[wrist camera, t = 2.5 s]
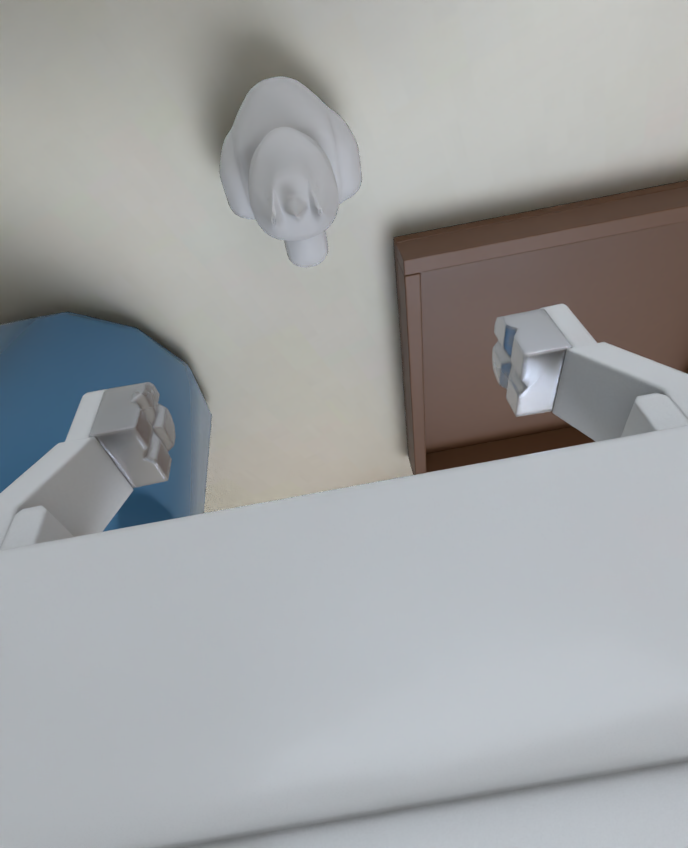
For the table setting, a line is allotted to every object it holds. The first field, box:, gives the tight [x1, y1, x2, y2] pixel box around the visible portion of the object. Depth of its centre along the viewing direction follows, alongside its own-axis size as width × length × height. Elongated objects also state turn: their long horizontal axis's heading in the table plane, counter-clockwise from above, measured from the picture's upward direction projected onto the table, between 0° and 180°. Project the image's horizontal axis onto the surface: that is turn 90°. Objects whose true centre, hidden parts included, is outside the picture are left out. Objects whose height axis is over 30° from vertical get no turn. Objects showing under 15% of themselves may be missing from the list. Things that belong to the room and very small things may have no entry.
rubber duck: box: [220, 76, 362, 267], centre depth 18 cm, size 5×7×8 cm
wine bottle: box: [0, 312, 212, 532], centre depth 19 cm, size 14×13×30 cm
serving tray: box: [394, 181, 688, 475], centre depth 30 cm, size 17×20×2 cm
